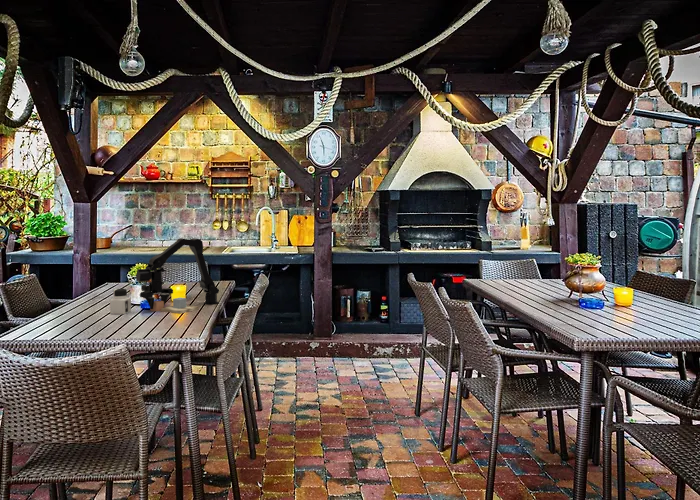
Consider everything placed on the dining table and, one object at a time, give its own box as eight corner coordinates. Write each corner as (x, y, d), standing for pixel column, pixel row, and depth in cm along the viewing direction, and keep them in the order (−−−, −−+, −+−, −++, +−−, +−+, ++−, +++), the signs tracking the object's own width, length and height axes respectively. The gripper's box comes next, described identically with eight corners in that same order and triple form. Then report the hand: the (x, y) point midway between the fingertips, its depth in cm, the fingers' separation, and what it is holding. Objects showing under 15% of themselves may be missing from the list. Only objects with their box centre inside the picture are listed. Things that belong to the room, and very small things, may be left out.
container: (131, 311, 296) (130, 288, 295) (123, 314, 288) (123, 290, 287) (117, 311, 297) (116, 287, 296) (110, 314, 289) (109, 289, 288)
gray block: (180, 306, 304) (179, 297, 304) (186, 307, 302) (186, 298, 301) (173, 307, 300) (173, 298, 299) (179, 308, 297) (179, 299, 297)
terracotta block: (157, 309, 304) (157, 300, 304) (163, 310, 302) (163, 301, 301) (150, 310, 300) (150, 301, 299) (156, 311, 297) (156, 302, 297)
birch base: (180, 307, 310) (180, 304, 310) (198, 309, 304) (198, 306, 303) (161, 311, 298) (160, 308, 298) (179, 313, 291) (179, 310, 291)
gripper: (159, 277, 311) (159, 304, 312) (132, 281, 295) (133, 309, 296) (173, 278, 306) (174, 306, 307) (146, 282, 290) (147, 311, 291)
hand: (157, 308), depth 300 cm, fingers open, 7 cm apart
